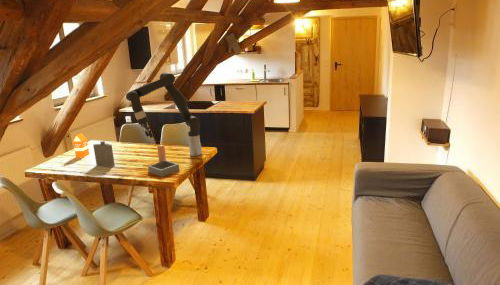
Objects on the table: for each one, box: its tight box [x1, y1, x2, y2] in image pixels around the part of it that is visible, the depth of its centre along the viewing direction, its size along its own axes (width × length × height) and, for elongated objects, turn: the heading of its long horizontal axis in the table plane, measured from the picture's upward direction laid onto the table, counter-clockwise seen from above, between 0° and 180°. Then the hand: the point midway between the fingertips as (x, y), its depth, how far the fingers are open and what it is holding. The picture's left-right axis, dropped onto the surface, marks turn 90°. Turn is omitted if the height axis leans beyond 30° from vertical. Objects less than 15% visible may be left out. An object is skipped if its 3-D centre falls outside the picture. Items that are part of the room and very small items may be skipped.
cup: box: [157, 144, 167, 163], centre depth 291 cm, size 6×6×15 cm
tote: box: [147, 159, 180, 178], centre depth 275 cm, size 16×16×5 cm
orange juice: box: [72, 132, 90, 158], centre depth 319 cm, size 8×9×20 cm
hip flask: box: [92, 140, 115, 168], centre depth 292 cm, size 16×4×20 cm, turn 76°
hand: (149, 136), depth 277 cm, fingers open, 8 cm apart
